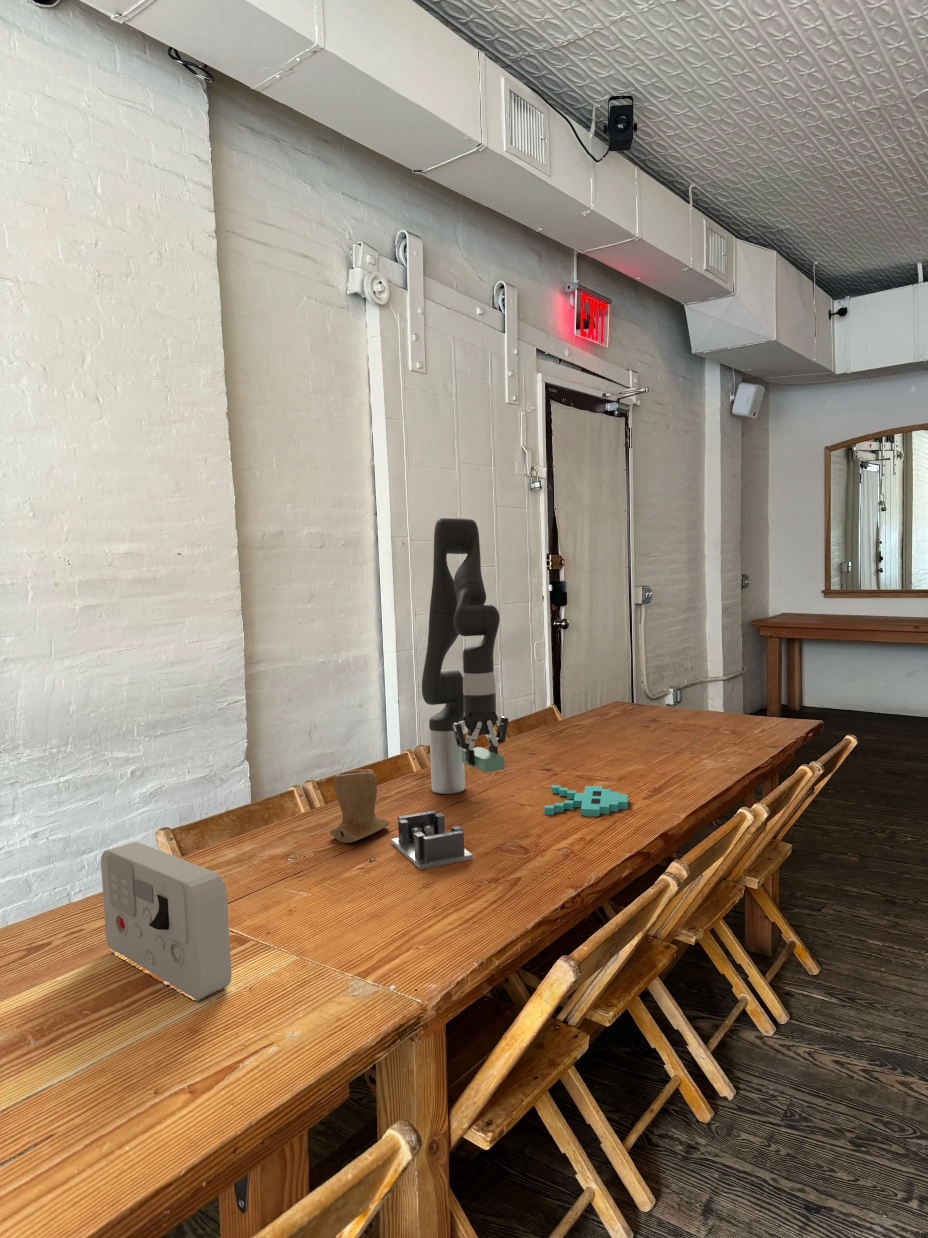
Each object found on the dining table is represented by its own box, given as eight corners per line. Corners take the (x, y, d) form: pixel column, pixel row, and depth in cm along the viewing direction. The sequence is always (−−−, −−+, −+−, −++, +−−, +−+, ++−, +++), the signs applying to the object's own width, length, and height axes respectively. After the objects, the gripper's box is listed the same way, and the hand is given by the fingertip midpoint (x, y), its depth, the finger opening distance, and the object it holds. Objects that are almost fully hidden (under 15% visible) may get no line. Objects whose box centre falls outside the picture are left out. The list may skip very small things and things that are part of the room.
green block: (461, 762, 198) (461, 749, 198) (480, 759, 201) (480, 747, 200) (484, 772, 188) (484, 759, 187) (504, 769, 190) (503, 756, 190)
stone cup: (357, 821, 205) (354, 761, 204) (396, 828, 199) (394, 766, 198) (316, 840, 192) (313, 776, 191) (356, 848, 186) (353, 782, 185)
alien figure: (544, 816, 205) (627, 819, 201) (544, 808, 205) (627, 810, 201) (552, 793, 225) (627, 795, 221) (552, 785, 224) (627, 787, 220)
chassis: (391, 843, 188) (390, 817, 188) (440, 834, 193) (439, 809, 193) (419, 869, 172) (418, 841, 171) (472, 859, 177) (471, 831, 176)
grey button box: (93, 957, 138) (85, 851, 137) (136, 940, 144) (129, 838, 143) (187, 1014, 120) (180, 892, 119) (233, 991, 126) (226, 875, 124)
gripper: (499, 686, 199) (501, 756, 201) (444, 692, 193) (447, 764, 194) (514, 690, 193) (516, 762, 194) (458, 696, 187) (461, 771, 188)
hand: (482, 763), depth 194 cm, fingers closed on green block, 5 cm apart
